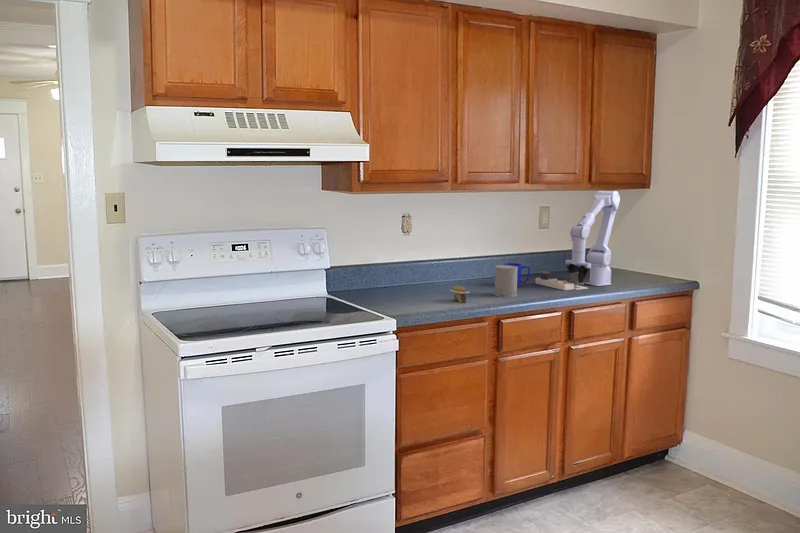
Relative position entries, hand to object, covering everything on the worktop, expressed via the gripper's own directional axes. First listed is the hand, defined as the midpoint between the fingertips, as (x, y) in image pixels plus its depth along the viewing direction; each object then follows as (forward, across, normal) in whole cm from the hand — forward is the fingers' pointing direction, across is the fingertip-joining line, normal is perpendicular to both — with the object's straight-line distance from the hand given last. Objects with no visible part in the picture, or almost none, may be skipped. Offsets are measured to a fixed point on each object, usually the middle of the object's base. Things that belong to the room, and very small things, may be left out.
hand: (577, 281), depth 310 cm
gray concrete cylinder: (+3, 0, -40) cm, 41 cm away
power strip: (+3, -8, -6) cm, 11 cm away
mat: (+3, 0, 0) cm, 3 cm away
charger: (+1, 0, 0) cm, 1 cm away
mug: (+3, -17, -22) cm, 28 cm away
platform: (+4, +3, -66) cm, 67 cm away
